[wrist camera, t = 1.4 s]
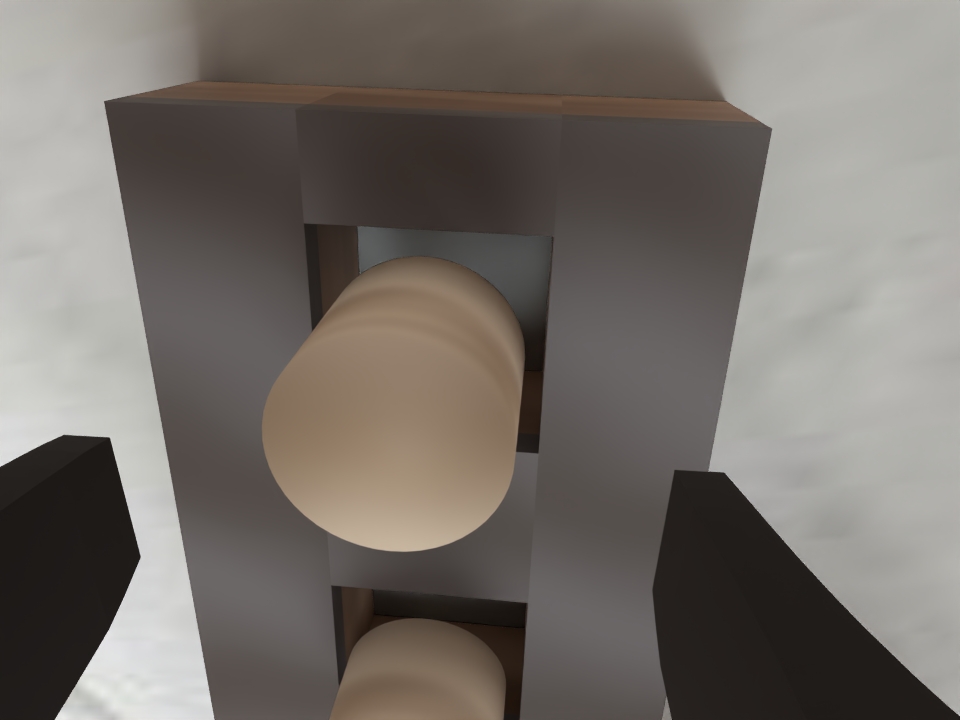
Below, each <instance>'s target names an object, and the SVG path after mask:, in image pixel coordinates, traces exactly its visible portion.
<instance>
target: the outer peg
mask: <svg viewBox="0 0 960 720" xmlns="http://www.w3.org/2000/svg"><path fill="white" fill-rule="evenodd" d="M524 365H525V345H524V339H523V334H522V331H521V328H520V324H519V322H518V320H517V317H516V315H515V313H514V311H513V310H512V308H511V307H510V305H509V303H508V302H507V300H506V299H505V298H504V297H503V296H502V294H501V293H500V292H499V291H498V290H497V289H496V288H495V287H494V286H493V285H492V284H491V283H490V282H488V281H487V280H486V279H484V278H483V277H482V276H480V275H479V274H477V273H476V272H474V271H472V270H470V269H468V268H466V267H464V266H462V265H459V264H457V263H454V262H451V261H448V260H444V259H439V258H433V257H425V256H415V257H403V258H396V259H393V260H389V261H386V262H383V263H380V264H378V265H376V266H373V267H371V268H370V269H368V270H366V271H365V272H363V273H361V274H360V275H359V276H358V277H356V278H355V279H354V280H353V281H352V282H351V283H350V284H349V285H348V286H347V287H346V288H345V289H344V290H343V292H342V293H341V294H340V296H339V297H338V298H337V300H336V301H335V302H334V304H333V305H332V306H331V308H330V309H329V310H328V311H327V313H326V314H325V315H324V317H323V318H322V319H321V321H320V322H319V323H318V325H317V326H316V327H315V329H314V330H313V331H312V333H311V334H310V335H309V337H308V338H307V339H306V341H305V342H304V343H303V345H302V346H301V347H300V349H299V350H298V351H297V353H296V354H295V355H294V357H293V358H292V359H291V361H290V362H289V363H288V365H287V366H286V367H285V369H284V370H283V371H282V373H281V374H280V375H279V377H278V378H277V380H276V381H275V383H274V385H273V386H272V389H271V391H270V393H269V395H268V397H267V401H266V404H265V408H264V411H263V420H262V441H263V446H264V451H265V456H266V459H267V462H268V465H269V468H270V470H271V472H272V474H273V476H274V478H275V480H276V482H277V483H278V485H279V486H280V488H281V489H282V491H283V492H284V494H285V495H286V496H287V498H288V499H289V500H290V501H291V502H292V503H293V505H294V506H295V507H296V508H297V509H298V510H299V511H301V512H302V513H303V514H304V515H305V516H306V517H307V518H309V519H310V520H311V521H313V522H314V523H315V524H316V525H318V526H319V527H321V528H323V529H324V530H326V531H328V532H329V533H331V534H333V535H335V536H337V537H339V538H342V539H344V540H346V541H349V542H352V543H355V544H357V545H360V546H364V547H369V548H373V549H378V550H385V551H400V552H408V551H421V550H426V549H432V548H436V547H440V546H443V545H446V544H449V543H452V542H454V541H456V540H458V539H461V538H463V537H464V536H466V535H468V534H469V533H471V532H473V531H474V530H476V529H477V528H478V527H479V526H481V525H482V524H483V523H484V522H485V521H486V520H487V519H488V518H489V517H490V516H491V515H492V514H493V513H494V512H495V511H496V509H497V508H498V506H499V505H500V503H501V502H502V500H503V499H504V497H505V495H506V492H507V490H508V488H509V486H510V482H511V479H512V476H513V471H514V464H515V455H516V445H517V435H518V425H519V415H520V405H521V395H522V385H523V375H524Z"/></svg>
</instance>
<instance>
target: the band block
mask: <svg viewBox="0 0 960 720" xmlns="http://www.w3.org/2000/svg"><path fill="white" fill-rule="evenodd" d="M104 103H105V109H106V114H107V120H108V125H109V131H110V136H111V142H112V148H113V153H114V159H115V164H116V170H117V176H118V181H119V187H120V192H121V198H122V204H123V209H124V215H125V220H126V226H127V232H128V237H129V243H130V248H131V254H132V260H133V265H134V271H135V276H136V282H137V288H138V293H139V299H140V304H141V310H142V316H143V321H144V327H145V332H146V338H147V344H148V349H149V355H150V360H151V366H152V372H153V377H154V383H155V388H156V394H157V400H158V405H159V411H160V416H161V422H162V428H163V433H164V439H165V444H166V450H167V456H168V461H169V467H170V472H171V478H172V484H173V489H174V495H175V500H176V506H177V512H178V517H179V523H180V528H181V534H182V540H183V545H184V551H185V556H186V562H187V568H188V573H189V579H190V584H191V590H192V596H193V601H194V607H195V612H196V618H197V623H198V629H199V635H200V640H201V646H202V651H203V657H204V663H205V668H206V674H207V679H208V685H209V691H210V696H211V702H212V707H213V713H214V719H215V720H329V719H330V716H331V712H332V709H333V706H334V703H335V700H336V697H337V694H338V691H339V688H340V685H341V681H342V678H343V675H344V672H345V669H346V666H347V663H348V660H349V657H350V654H351V652H352V649H353V648H354V646H355V645H356V643H357V642H358V641H359V640H360V639H361V637H363V636H364V635H365V634H366V633H368V632H369V631H370V630H372V629H374V628H376V627H378V626H380V625H382V624H385V623H388V622H391V621H395V620H401V619H411V618H405V617H394V616H383V615H374V599H373V589H378V590H389V591H400V592H412V593H423V594H434V595H445V596H456V597H467V598H479V599H490V600H501V601H512V602H523V603H526V618H525V629H524V628H513V627H502V626H491V625H481V624H470V623H459V622H448V621H442V622H446V623H449V624H452V625H455V626H458V627H460V628H462V629H464V630H466V631H468V632H470V633H472V634H473V635H475V636H476V637H478V638H479V639H480V640H482V641H483V642H484V643H485V644H486V645H487V646H488V647H489V648H490V649H491V650H492V651H493V652H494V653H495V655H496V656H497V658H498V659H499V661H500V663H501V665H502V667H503V670H504V673H505V678H506V694H505V707H504V719H503V720H662V716H663V710H664V705H665V700H666V690H665V686H664V681H663V676H662V672H661V667H660V659H659V651H658V642H657V633H656V624H655V614H654V603H653V593H652V588H653V582H654V577H655V572H656V566H657V561H658V556H659V550H660V545H661V540H662V534H663V529H664V524H665V518H666V513H667V507H668V502H669V497H670V491H671V486H672V481H673V475H674V470H686V471H704V472H708V469H709V464H710V459H711V453H712V448H713V442H714V437H715V432H716V426H717V421H718V416H719V410H720V405H721V400H722V394H723V389H724V383H725V378H726V373H727V367H728V362H729V357H730V351H731V346H732V341H733V335H734V330H735V325H736V319H737V314H738V308H739V303H740V298H741V292H742V287H743V282H744V276H745V271H746V266H747V260H748V255H749V250H750V244H751V239H752V233H753V228H754V223H755V217H756V212H757V207H758V201H759V196H760V191H761V185H762V180H763V174H764V169H765V164H766V158H767V153H768V148H769V142H770V137H771V132H772V129H771V128H770V127H768V126H766V125H765V124H763V123H761V122H760V121H758V120H756V119H755V118H753V117H751V116H750V115H748V114H746V113H745V112H743V111H741V110H740V109H738V108H736V107H735V106H733V105H731V104H730V103H728V102H726V101H703V100H677V99H651V98H626V97H600V96H574V95H548V94H522V93H496V92H471V91H445V90H419V89H393V88H367V87H341V86H315V85H290V84H264V83H238V82H212V81H196V82H191V83H186V84H182V85H177V86H173V87H168V88H163V89H159V90H154V91H150V92H145V93H140V94H136V95H131V96H127V97H122V98H117V99H113V100H108V101H104ZM357 226H364V227H383V228H402V229H421V230H440V231H459V232H478V233H497V234H516V235H535V236H552V243H551V258H550V272H549V287H548V301H547V315H546V330H545V344H544V359H543V372H538V371H524V375H523V385H522V395H521V405H520V415H519V425H518V435H517V445H516V455H515V464H514V471H513V476H512V479H511V482H510V486H509V488H508V490H507V492H506V495H505V497H504V499H503V500H502V502H501V503H500V505H499V506H498V508H497V509H496V511H495V512H494V513H493V514H492V515H491V516H490V517H489V518H488V519H487V520H486V521H485V522H484V523H483V524H482V525H481V526H479V527H478V528H477V529H476V530H474V531H473V532H471V533H469V534H468V535H466V536H464V537H463V538H461V539H458V540H456V541H454V542H452V543H449V544H446V545H443V546H440V547H436V548H432V549H426V550H421V551H408V552H400V551H385V550H378V549H373V548H369V547H364V546H360V545H357V544H355V543H352V542H349V541H346V540H344V539H342V538H339V537H337V536H335V535H333V534H331V533H329V532H328V531H326V530H324V529H323V528H321V527H319V526H318V525H316V524H315V523H314V522H313V521H311V520H310V519H309V518H307V517H306V516H305V515H304V514H303V513H302V512H301V511H299V510H298V509H297V508H296V507H295V506H294V505H293V503H292V502H291V501H290V500H289V499H288V498H287V496H286V495H285V494H284V492H283V491H282V489H281V488H280V486H279V485H278V483H277V482H276V480H275V478H274V476H273V474H272V472H271V470H270V468H269V465H268V462H267V459H266V456H265V451H264V446H263V441H262V420H263V411H264V408H265V404H266V401H267V397H268V395H269V393H270V391H271V389H272V386H273V385H274V383H275V381H276V380H277V378H278V377H279V375H280V374H281V373H282V371H283V370H284V369H285V367H286V366H287V365H288V363H289V362H290V361H291V359H292V358H293V357H294V355H295V354H296V353H297V351H298V350H299V349H300V347H301V346H302V345H303V343H304V342H305V341H306V339H307V338H308V337H309V335H310V334H311V333H312V331H313V330H314V329H315V327H316V326H317V325H318V323H319V322H320V321H321V319H322V318H323V317H324V315H325V314H326V313H327V311H328V310H329V309H330V308H331V306H332V305H333V304H334V302H335V301H336V300H337V298H338V297H339V296H340V294H341V293H342V292H343V290H344V289H345V288H346V287H347V286H348V285H349V284H350V283H351V282H352V281H353V280H354V279H355V278H356V277H358V276H359V262H358V240H357Z"/></svg>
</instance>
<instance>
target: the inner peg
mask: <svg viewBox="0 0 960 720" xmlns="http://www.w3.org/2000/svg"><path fill="white" fill-rule="evenodd" d="M505 694H506V678H505V673H504V670H503V667H502V665H501V663H500V661H499V659H498V658H497V656H496V655H495V653H494V652H493V651H492V650H491V649H490V648H489V647H488V646H487V645H486V644H485V643H484V642H483V641H482V640H480V639H479V638H478V637H476V636H475V635H473V634H472V633H470V632H468V631H466V630H464V629H462V628H460V627H458V626H455V625H452V624H449V623H446V622H442V621H438V620H432V619H421V618H411V619H401V620H395V621H391V622H388V623H385V624H382V625H380V626H378V627H376V628H374V629H372V630H370V631H369V632H368V633H366V634H365V635H364V636H363V637H361V639H360V640H359V641H358V642H357V643H356V645H355V646H354V648H353V649H352V652H351V654H350V657H349V660H348V663H347V666H346V669H345V672H344V675H343V678H342V681H341V685H340V688H339V691H338V694H337V697H336V700H335V703H334V706H333V709H332V712H331V716H330V719H329V720H503V719H504V707H505Z"/></svg>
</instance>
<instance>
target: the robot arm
mask: <svg viewBox="0 0 960 720" xmlns="http://www.w3.org/2000/svg"><path fill="white" fill-rule="evenodd" d="M140 558H141V556H140V553H139V549H138V545H137V541H136V537H135V533H134V529H133V526H132V522H131V518H130V514H129V510H128V506H127V502H126V498H125V495H124V491H123V487H122V483H121V479H120V475H119V471H118V468H117V464H116V460H115V456H114V452H113V448H112V444H111V441H110V438H108V437H90V436H73V435H63V436H61V437H58V438H56V439H54V440H52V441H50V442H47V443H45V444H43V445H41V446H39V447H37V448H35V449H33V450H31V451H29V452H28V453H26V454H24V455H22V456H20V457H18V458H16V459H14V460H12V461H11V462H9V463H7V464H5V465H3V466H1V467H0V720H55V718H56V716H57V715H58V713H59V712H60V710H61V708H62V707H63V705H64V703H65V702H66V700H67V699H68V697H69V695H70V694H71V692H72V690H73V689H74V687H75V685H76V684H77V682H78V680H79V679H80V677H81V675H82V674H83V672H84V670H85V669H86V667H87V666H88V664H89V662H90V661H91V659H92V657H93V656H94V654H95V652H96V651H97V649H98V647H99V645H100V644H101V642H102V640H103V639H104V637H105V635H106V633H107V632H108V630H109V628H110V626H111V624H112V622H113V620H114V617H115V615H116V613H117V611H118V609H119V607H120V604H121V602H122V600H123V598H124V596H125V593H126V591H127V589H128V586H129V584H130V581H131V579H132V577H133V574H134V572H135V570H136V567H137V565H138V562H139V560H140ZM652 593H653V603H654V614H655V624H656V633H657V642H658V651H659V659H660V667H661V672H662V676H663V681H664V686H665V690H666V694H667V699H668V703H669V708H670V712H671V717H672V720H960V716H959V715H958V714H956V713H955V712H954V711H953V710H952V709H951V708H949V707H948V706H947V705H946V704H945V703H944V702H942V701H941V700H940V699H939V698H938V697H937V696H936V695H935V694H934V693H933V692H931V691H930V690H929V689H928V688H927V687H926V686H925V685H924V684H923V683H922V682H920V681H919V680H918V679H917V678H916V677H915V676H914V675H913V674H912V673H911V672H910V671H909V670H908V669H907V668H906V667H905V666H904V665H902V664H901V663H900V662H899V661H898V660H897V659H896V658H895V657H894V656H893V655H892V654H891V653H890V652H889V651H888V650H887V649H886V648H885V647H884V646H883V645H882V644H881V643H880V642H879V641H878V640H877V639H876V638H875V637H874V636H872V635H871V634H870V633H869V632H868V631H867V630H866V629H865V628H864V627H863V626H862V625H861V624H860V623H859V622H858V621H857V620H856V619H855V618H854V617H853V615H852V614H851V613H850V612H849V611H848V610H847V609H846V608H845V607H844V606H843V605H842V604H841V603H840V602H839V601H838V600H837V599H836V598H835V597H834V596H833V595H832V594H831V593H830V591H829V590H828V589H827V588H826V587H825V586H824V585H823V584H822V583H821V582H820V581H819V580H818V579H817V578H816V576H815V575H814V574H813V573H812V572H811V571H810V570H809V569H808V568H807V567H806V566H805V565H804V563H803V562H802V561H801V560H800V559H799V558H798V557H797V556H796V555H795V553H794V552H793V551H792V550H791V549H790V548H789V547H788V545H787V544H786V543H785V542H784V541H783V540H782V539H781V537H780V536H779V535H778V534H777V533H776V532H775V531H774V529H773V528H772V527H771V526H770V525H769V524H768V523H767V521H766V520H765V519H764V518H763V517H762V516H761V514H760V513H759V512H758V511H757V510H756V509H755V508H754V506H753V505H752V504H751V503H750V502H749V501H748V499H747V498H746V497H745V496H744V495H743V494H742V493H741V491H740V490H739V489H738V488H737V487H736V486H735V484H734V483H733V482H732V481H731V480H730V479H729V478H728V476H727V475H726V474H725V473H721V472H704V471H686V470H674V475H673V481H672V486H671V491H670V497H669V502H668V507H667V513H666V518H665V524H664V529H663V534H662V540H661V545H660V550H659V556H658V561H657V566H656V572H655V577H654V582H653V588H652Z"/></svg>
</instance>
